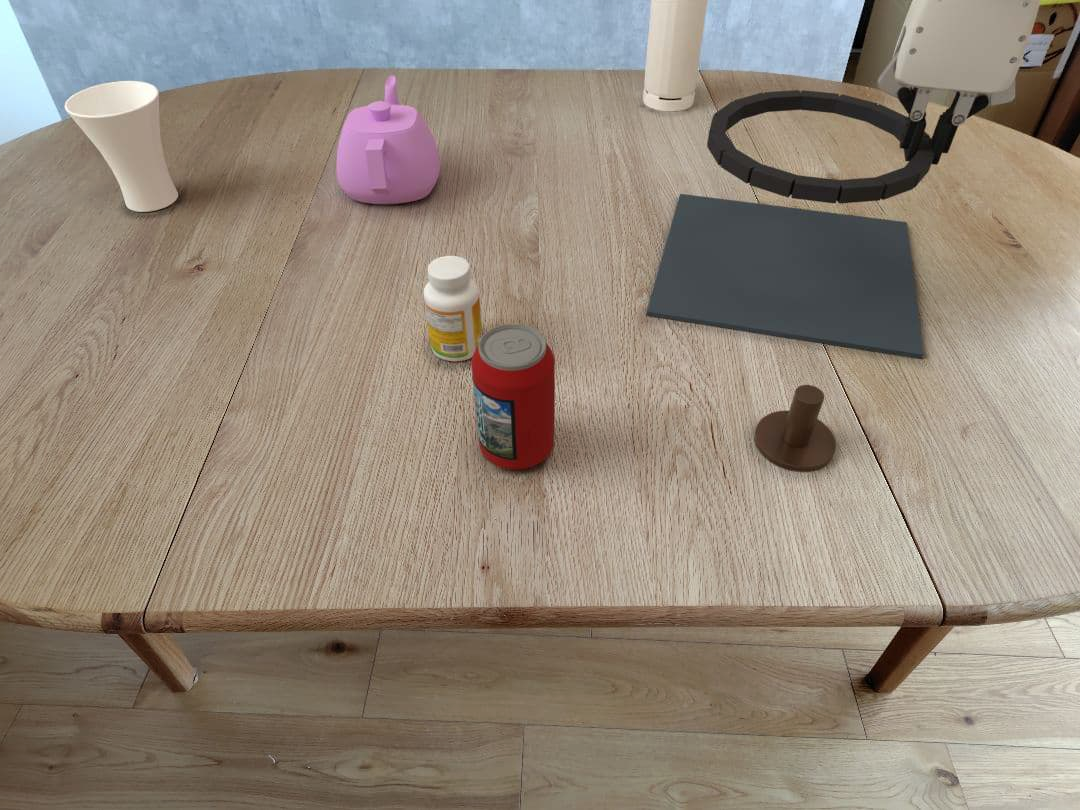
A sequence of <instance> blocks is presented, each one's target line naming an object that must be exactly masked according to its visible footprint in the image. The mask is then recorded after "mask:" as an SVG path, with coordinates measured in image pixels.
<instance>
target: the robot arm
mask: <svg viewBox="0 0 1080 810" xmlns="http://www.w3.org/2000/svg"><path fill="white" fill-rule="evenodd" d="M1041 1H1042V0H912V1H911V4H910V7H909V8H908V11H907V14H906V16H905V20H904V22H903V24H902V28H901V30H900V33H899V35H898V38H897V41H896V45H895V48H894V52H893V55H892V59H891V60H890V62H889V63H888V64H887V65H886V67H885V68H884V70H883V71H882V72H881V74H880V76H879V77H878V78H877V88H878V90H880V91H881V92H883V93H885V94H887V95H889V96H891V97H893V98H896V99H898V101H899V103H900V104H901V106H902V107H903V108H904V110H905V111H906V113H907V114H908V116H907V117H908V119H907V122H906V125H905V128H904V131H903V134H902V137H901V140H900V141H899V149H903V154H904V161H905V162H909V161H910V160H911V159H912V158H913V157H914V156H915V154H916V152H917V150H918V148H919V145H920V142H921V139H922V136H923V134H924V131H925V130H926V128H927V119H926V117H927V112H926V111H927V108H928V104H929V100H930V98H931V95H932V92H933V90H936V91H946V92H954V94H953V96H952V98H951V101H950V104H949V106H948V108H946V109H945V111H942V114H940V115H939V117H938V120H937V122H936V125H935V128H934V131H933V134H932V136H931V141H932V146H933V151H934V159H933V161H932V164H931V165H936V166H937V165H939V163H940V160H941V157H942V154H948V153H949V151H950V149H951V145H952V143H953V141H954V138H955V136H956V133H957V131H958V128H959V127H960V126H962V125H963V124H964V123H965V122H966V121H967V119H969V118H971V117H972V116H975V115H976V114H977V113H979V112H981V111H983V110H984V109H986V108H987V107H994V106H998V105H1003V104H1008V103H1011V102H1012V101H1014V100H1015V98H1016V76H1017V74H1018V71H1019V69H1020V66H1021V65H1022V61H1023V59H1024V56H1025V53H1026V50H1027V47H1028V44H1029V41H1030V37H1031V35H1032V32H1033V28H1034V25H1035V22H1036V19H1037V15H1038V13H1039V9H1040V4H1041ZM925 132H926V131H925Z"/></svg>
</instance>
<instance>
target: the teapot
mask: <svg viewBox="0 0 1080 810" xmlns="http://www.w3.org/2000/svg"><path fill="white" fill-rule="evenodd" d="M440 172H441V162H440V156H439V151H438V148H437V144H436V141H435V138H434V135H433V133H432V132H431V130H430V128H429V125H428V124H427V123H426V121H425V119H424V118H423V115H421V114H420V112H419V111H418V109H416V108H415V107H413V106H409V105H405V104H400V101H399V97H398V90H397V77H396V76H395V75H389V76H388V77H387V78H386V81H385V85H384V100H376V101H374V102H373V101H372V102H371V103H369V104H368V105H364V106H359V107H356V108H354V109H352V110H351V111H350V112H348V115H347V116H346V118H345V121H344V123H343V126H342V130H341V132H340V136H339V140H338V144H337V150H336V179H337V183H338V185H339V187H340V189H341V190H342V191H343V192H344V193H345V194H346V195H347V196H348V197H349V198H350V199H352V200H353V201H356V202H360V203H365V204H372V205H373V204H374V205H395V204H396V205H397V204H405V203H412V202H415V201H418V200H422V199H424V198H426V197H428V196H429V195H430V194H431V192H432V190H433V189H434V187H435V185H436V183H437V181H438V178H439V176H440Z"/></svg>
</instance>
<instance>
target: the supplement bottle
mask: <svg viewBox="0 0 1080 810" xmlns="http://www.w3.org/2000/svg"><path fill="white" fill-rule="evenodd" d="M471 273H472V272H471V265H470V263H469V261H468V260H467V259H465V258H463V257H462V256H458V255H443V256H440V257H437V258H435V259H433V260H432V261H431V262H429V264H428V266H427V278H428V281H427V283H426V284H425V286H424V288H423V302H424V308H425V317H426V321H427V322H426V323H427V328H428V330H427V331H428V335H429V337H428V338H429V344H430V348H431V351H432V353H433V354H434V355H435V356H437V357H438V358H439V359H442V360H444V361H449V362H463V361H467V360H470V359H472V357H473V354H474V352H475V350H476V349H477V347H478V345H479V341H480V339H481V337H482V336H483V335H484V334H483V327H482V313H481V299H480V291H479V286H478V284H477V282H476V281H475V280H474V279H473V278H472V277H471V276H472V275H471Z"/></svg>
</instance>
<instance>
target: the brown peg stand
mask: <svg viewBox="0 0 1080 810" xmlns="http://www.w3.org/2000/svg"><path fill="white" fill-rule="evenodd" d="M824 400H825V394H824V392H823V391H822V390H821V389H820V388H819V387H817V386H815V385H811V384H802V385H799V386H798V387H796V389H795V391H794V394H793V397H792V401H791V403H790V406H789V410H779V411H773V412H772V413H769V414H767V415H764V416H763V417H762V418H761V419H760V420H759V421H758V423H757V425H756V427H755V431H754V443H755V445H756V448H757V449H758V451H759V452H760V454H761V455H762V456H763V457H764V458H765V459H766V460H768V461H769V462H770V463H772V464H773V465H776V466H777V467H780V468H782V469H785V470H787V471H788V470H789V471H793V472H803V473H805V472H813V471H817V470H820V469H822V468H824V467H825V466H827V465H828V464H829V463H830V462H831V461H832V459H833V458H834V455H835V453H836V448H837V443H836V438H835V436H834V434H833V432H832V430H831V429H830V428H829V426H827V425H826V424H825V423H824V422H822V420H819V419H818V417H819V414H820V412H821V408H822V406H823V403H824Z"/></svg>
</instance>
